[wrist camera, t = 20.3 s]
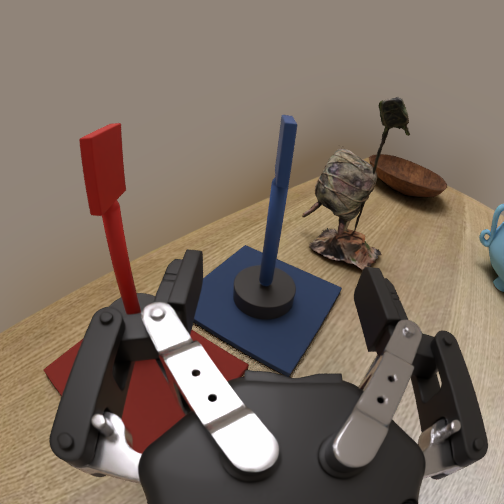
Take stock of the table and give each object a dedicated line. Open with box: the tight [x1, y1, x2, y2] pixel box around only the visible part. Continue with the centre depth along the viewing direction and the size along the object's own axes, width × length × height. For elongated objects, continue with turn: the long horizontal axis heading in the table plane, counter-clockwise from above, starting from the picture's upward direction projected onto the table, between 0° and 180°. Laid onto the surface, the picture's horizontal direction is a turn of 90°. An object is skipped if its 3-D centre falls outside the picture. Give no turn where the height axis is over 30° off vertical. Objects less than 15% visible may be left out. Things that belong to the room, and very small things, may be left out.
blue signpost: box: [233, 115, 297, 320], centre depth 22 cm, size 6×6×16 cm
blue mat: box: [193, 245, 342, 377], centre depth 27 cm, size 12×12×1 cm
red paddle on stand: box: [80, 123, 155, 315], centre depth 17 cm, size 6×6×16 cm
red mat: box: [44, 330, 249, 454], centre depth 19 cm, size 12×12×1 cm
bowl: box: [369, 154, 447, 197], centre depth 58 cm, size 20×22×5 cm
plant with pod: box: [302, 97, 410, 270], centre depth 30 cm, size 8×11×20 cm
